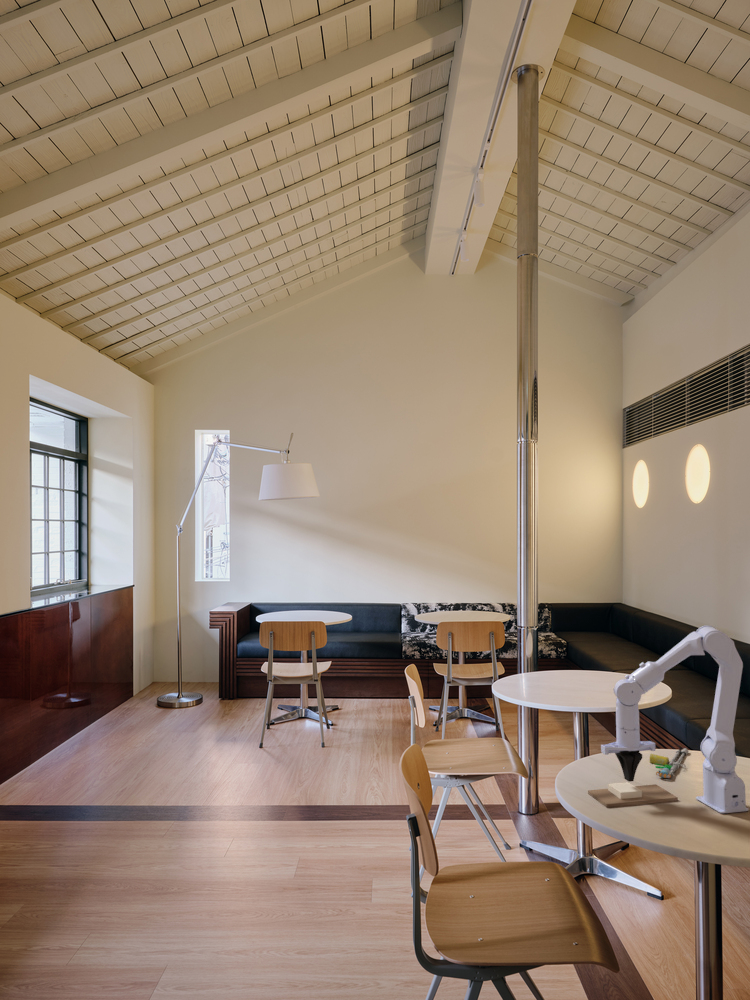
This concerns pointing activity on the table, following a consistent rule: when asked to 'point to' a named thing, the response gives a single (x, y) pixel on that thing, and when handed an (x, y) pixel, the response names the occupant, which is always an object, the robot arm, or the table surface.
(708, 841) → the table surface
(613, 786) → the tile
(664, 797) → the board
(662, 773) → the flamethrower
